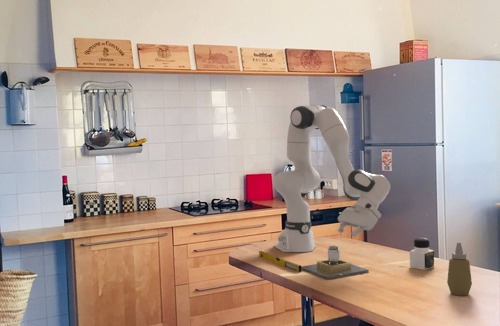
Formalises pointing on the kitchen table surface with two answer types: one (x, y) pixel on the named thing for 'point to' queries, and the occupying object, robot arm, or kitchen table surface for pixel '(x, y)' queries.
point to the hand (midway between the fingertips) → (346, 233)
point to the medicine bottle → (421, 255)
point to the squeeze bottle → (459, 273)
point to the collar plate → (334, 269)
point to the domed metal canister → (333, 255)
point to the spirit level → (280, 261)
